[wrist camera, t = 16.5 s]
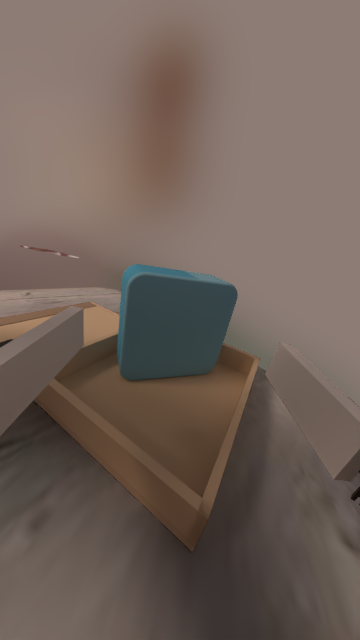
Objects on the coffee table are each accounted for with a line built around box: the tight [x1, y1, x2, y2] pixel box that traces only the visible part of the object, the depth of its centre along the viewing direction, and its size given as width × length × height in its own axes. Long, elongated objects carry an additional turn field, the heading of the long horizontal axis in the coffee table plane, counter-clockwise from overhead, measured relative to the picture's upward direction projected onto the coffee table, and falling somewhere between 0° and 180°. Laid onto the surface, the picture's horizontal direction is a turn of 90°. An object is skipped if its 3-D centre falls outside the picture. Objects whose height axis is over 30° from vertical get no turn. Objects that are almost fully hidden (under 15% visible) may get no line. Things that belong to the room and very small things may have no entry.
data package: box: [117, 264, 237, 381], centre depth 22 cm, size 12×4×12 cm, turn 109°
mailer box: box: [0, 302, 260, 552], centre depth 25 cm, size 34×19×4 cm, turn 59°
